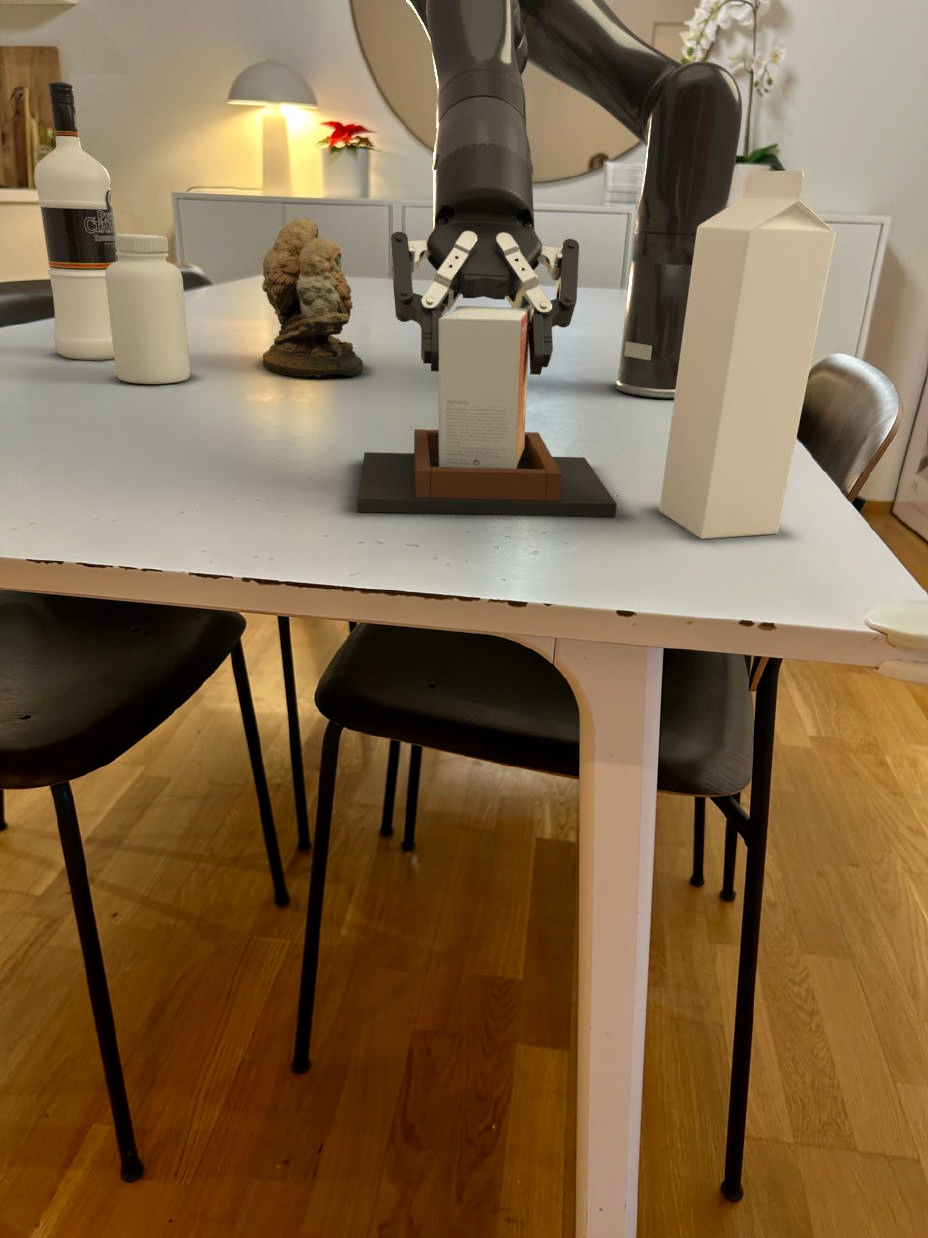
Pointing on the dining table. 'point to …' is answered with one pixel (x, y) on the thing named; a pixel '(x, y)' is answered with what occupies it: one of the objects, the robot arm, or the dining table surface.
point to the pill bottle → (147, 312)
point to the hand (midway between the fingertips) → (486, 365)
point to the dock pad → (481, 484)
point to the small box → (483, 386)
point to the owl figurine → (308, 304)
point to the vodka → (76, 236)
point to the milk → (745, 359)
